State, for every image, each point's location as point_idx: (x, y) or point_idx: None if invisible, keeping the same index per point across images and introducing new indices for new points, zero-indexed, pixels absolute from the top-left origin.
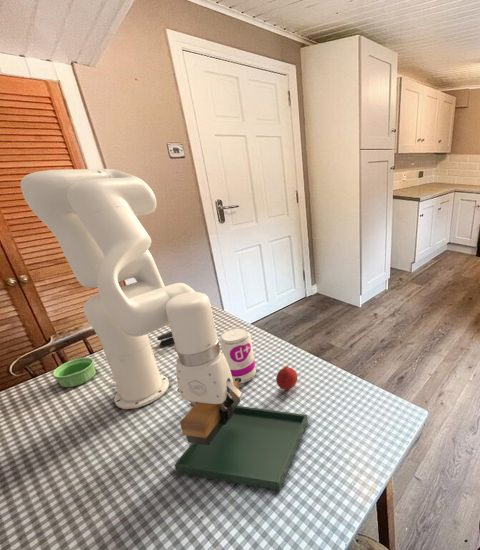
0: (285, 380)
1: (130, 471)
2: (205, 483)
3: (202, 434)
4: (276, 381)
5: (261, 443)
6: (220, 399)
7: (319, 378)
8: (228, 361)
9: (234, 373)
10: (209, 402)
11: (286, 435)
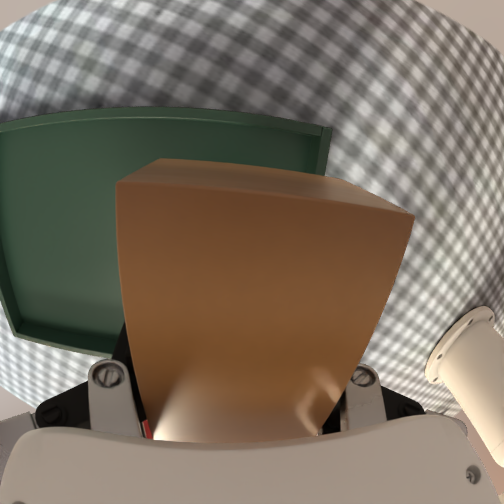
0: None
1: (436, 148)
2: (197, 95)
3: (177, 162)
4: (147, 430)
5: (77, 249)
6: (11, 471)
7: None
8: None
9: None
10: (151, 460)
11: (32, 279)
